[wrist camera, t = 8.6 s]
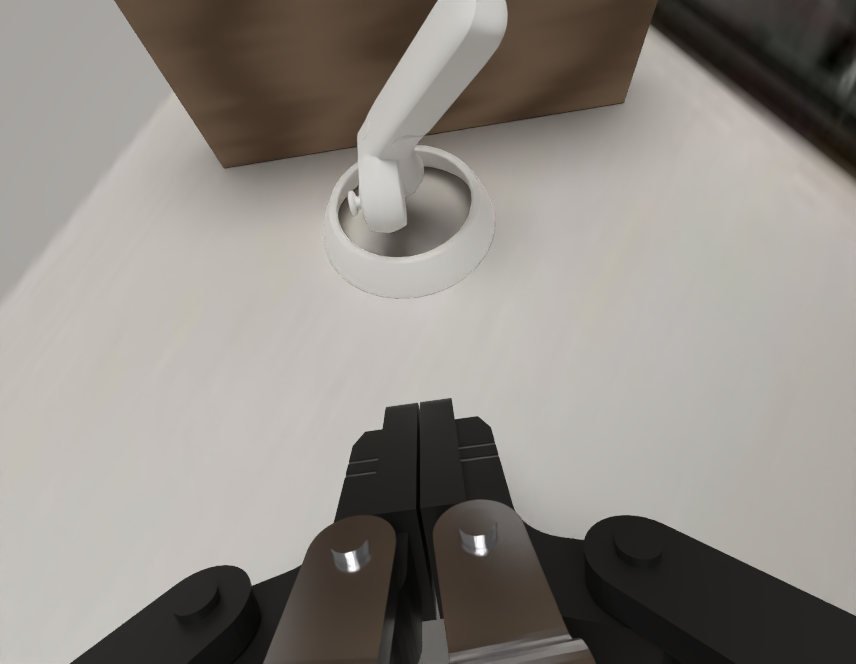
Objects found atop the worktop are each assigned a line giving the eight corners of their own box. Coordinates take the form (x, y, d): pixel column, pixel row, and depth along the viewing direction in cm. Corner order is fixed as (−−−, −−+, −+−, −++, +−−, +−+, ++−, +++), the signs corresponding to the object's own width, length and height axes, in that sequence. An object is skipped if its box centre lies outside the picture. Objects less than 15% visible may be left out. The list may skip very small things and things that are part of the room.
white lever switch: (677, 206, 13) (487, 149, 10) (449, 321, 23) (312, 315, 19) (621, 0, 15) (443, -115, 11) (432, 188, 25) (303, 160, 21)
